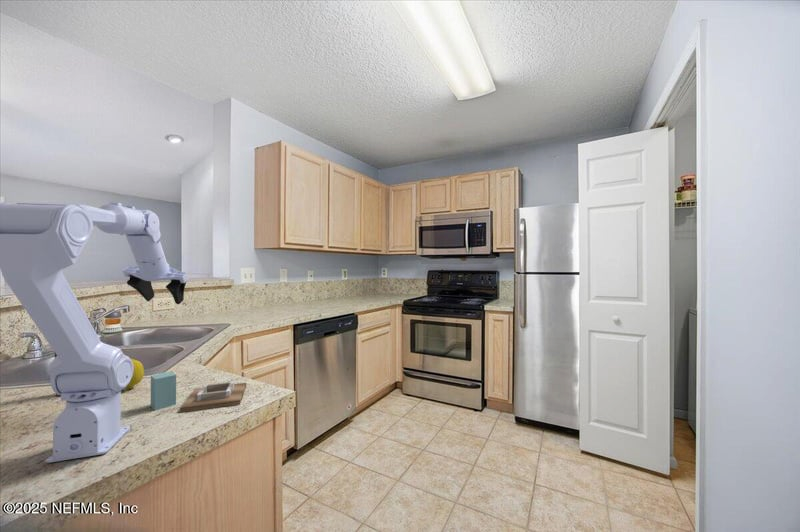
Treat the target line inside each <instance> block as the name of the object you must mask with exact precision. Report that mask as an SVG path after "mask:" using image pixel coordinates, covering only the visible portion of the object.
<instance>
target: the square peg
mask: <svg viewBox="0 0 800 532" xmlns="http://www.w3.org/2000/svg"><path fill="white" fill-rule="evenodd" d="M175 405H177V374H176V373H174V372H173V371H166V372H161V373H157V374H152V375H150V406H151V407H152V409H154V411H158V410H160V409H161V410H162V409H165V408H168V407H169V408H170V407H172V406H175Z"/></svg>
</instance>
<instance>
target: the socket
mask: <svg viewBox="0 0 800 532" xmlns="http://www.w3.org/2000/svg"><path fill="white" fill-rule="evenodd" d="M246 388H247V382H241V383H235V381H228V382H220V383H218V382H217V383H209V384H203V385H202V387H198V388H197V387H196V388H194V389H193V391H192V392H191V393H190V395H188V397H187V398H186V400H185V401H184V403H182V405H181V406H180V407H179V410H180V413H185V412H192V411H199V410H208V409H214V408H222V407H230V406H236V405H241V402H242V400H243V398H244V395H245V392H246Z"/></svg>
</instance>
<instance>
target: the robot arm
mask: <svg viewBox="0 0 800 532" xmlns="http://www.w3.org/2000/svg"><path fill="white" fill-rule="evenodd" d="M122 205H123V204H122V202H121V203H120V202H114V201H113V202H112V201H110V202H109V203H108V204H104V205H101V206H99V207H96V206H90V205H87V204H82V203H73V202H72V203H70V202H67V203H66V202H16V203H9V202H3V201H2V202H1V201H0V272H1V275H2V277H3V279H4V281H5V282H6V284H7V285H8V287H9V288H10V289H11V291H12V292H13V294H14V295H15V297H16V298H17V300H18V301H19V303H20V304H21V306H22V307H23V309H24V311H26V313H27V314H28V316H29V317H30V318H31V321H33V323H34V324H35V326H36V327H37V329H38V330H39V332H40V333H41V335H42V336H43V337H44V339H45V340H46V342H47V343H48V345H49V346H50V347H51V349H52V350H53V353H54V352H55V353H56V355H57V356H56V358H55V357H54V358H53V359H52V361H51V362H50V364H49V365H48V367H47V369H46V373H47V374H48V377H49V378H50V385H51V388H52V391H53V392H54V394H55V395H56V394H58V395H61V396H60V401H65V407H64V409H63V411H61V413H59V415H58V416H57V417H56V418H55V419H54V422H53V426H52V432H53V433H52V455H51V456H49V457H48V458H47V459H45V464H49V463H54V462H55V463H56V462H63V461H67V460H74V459H80V458H86V457H92V456H99V455H103V454H106V453H108V452H109V450H110V449H111V448H113V447H114V445H115V444H117V443H118V442H119V440H121V439H122V437H123V436H124V435H126V433H127V432H128V431H129V430H130V429H131V426H130V425H126V426H121V424H122V423H121V421H122V419H121V414H122V412H121V408H122V407H121V404H122V400H121V396H122V395H121V394H122V391H123V390H124V389H125V388H127V387H126V386H127V385H128V383H129V382H130V380H131V378H132V375H133V369H134V367H133V362H132V361H131V359H132V358H130V356H128V355H126V354H124V353H123V351H122V349H121V348H120V347H116V346H114V345H111V344H109V343H108V344H107V343H105V342H102V341H101V340H100V337H99V335H98V334H97V332H96V330H95V329H94V328H95V327H93V325H92V323H91V322H90V319H89V317H88V315H86V313H85V310H84V309H83V307H82V305H81V304H80V301H78V298H77V296H76V295H75V293H74V291H73V289H72V287H71V286H70V284H69V282H68V280H67V278H66V277H65V275H64V273H63V270H64V269H67V268H69V267H70V266H73V265H74V264H75V263H76V262H77V260H78V258H79V256H80V254H81V253H82V252H83V249H84V248H85V246H86V244H87V242H89V241H88V240H89V238H90V236H91V235H92V232H93V231H94V226H95V227H96V228H98V230H100V231H101V232H103V233H107V234H113V235H114V234H115V235H116V234H117V235H120V236H123V235H124V236H125V237H126V240H127V241H128V245H129V247H130V249H131V252H132V255H133V258H134V260H135V263H136V265H137V266H129V265H128V266H127V267H125V268H124V269H123V270H122V272H123V275H124V277H125V278H129V279H128V280H126V283H127V285H128V286H129V287H131V288H132V289H135V290H136V291H137V292H138V293H139V294H140V295H141V296H142V297H143V298H144V300H145V301H147V302H150V301H151V300H152V299H153V298H154V297H155V292H154V291H155V290H154V288H153V284H152V282H158V281H170V282H169V283H168V284H166V285H165V288H166V289H167V290H168V291H169V293H170V294H171V295H172V298H173V300H174V303H175V304H176V305H181V303H182V302H183V301H184V299H185V298H184V294H185V288H186V284H187V281H189V279H190V278H189V274H188V272H185V271H182V270H181V271H180V270H179V269H176V268H173V267H170V263H168V262H167V259H166V256H165V252H164V249H163V246H162V243H161V240H160V238H161V236H162V233H161V231H160V224H161V223H160V218H159V217H158V215H157V214H156V213H155V212H153V211H152V210H151V209H136V207H135V206H132V205H131V206H130V205H127V206H122ZM55 353H54V354H55Z"/></svg>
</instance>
